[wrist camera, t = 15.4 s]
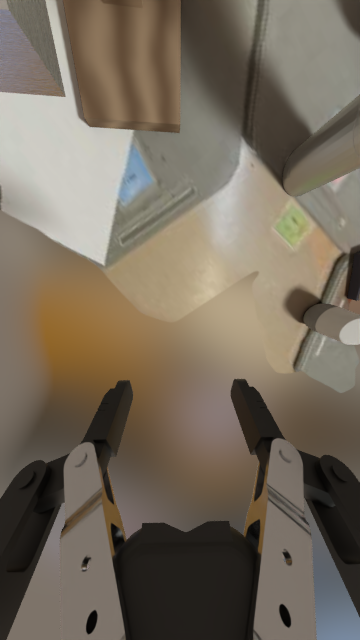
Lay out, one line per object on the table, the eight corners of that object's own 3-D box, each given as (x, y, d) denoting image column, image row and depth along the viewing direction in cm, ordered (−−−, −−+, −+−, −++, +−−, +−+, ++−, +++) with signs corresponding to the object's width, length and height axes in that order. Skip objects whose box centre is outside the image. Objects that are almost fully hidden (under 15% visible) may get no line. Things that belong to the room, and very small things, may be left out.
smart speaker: (305, 301, 47) (355, 318, 34) (330, 300, 48) (389, 316, 35) (296, 326, 51) (338, 349, 38) (319, 325, 52) (368, 348, 39)
